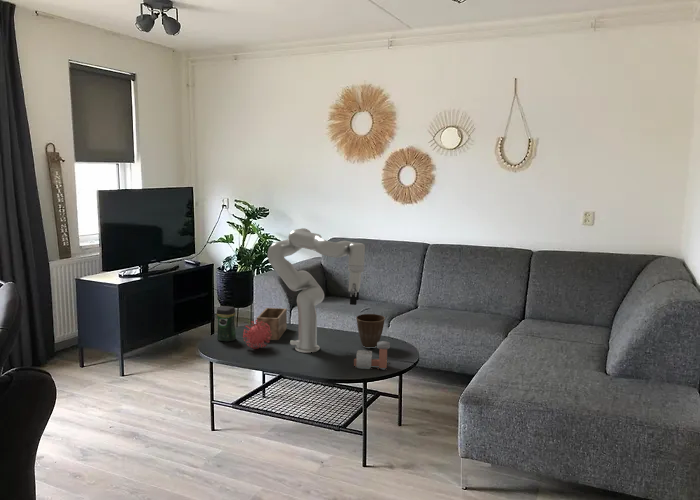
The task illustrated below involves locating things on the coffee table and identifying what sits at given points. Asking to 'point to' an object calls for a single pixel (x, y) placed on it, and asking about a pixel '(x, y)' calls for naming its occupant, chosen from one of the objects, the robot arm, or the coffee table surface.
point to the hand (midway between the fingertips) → (354, 302)
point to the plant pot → (370, 328)
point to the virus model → (257, 334)
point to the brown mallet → (380, 355)
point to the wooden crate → (274, 321)
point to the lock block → (364, 358)
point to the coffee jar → (226, 323)
